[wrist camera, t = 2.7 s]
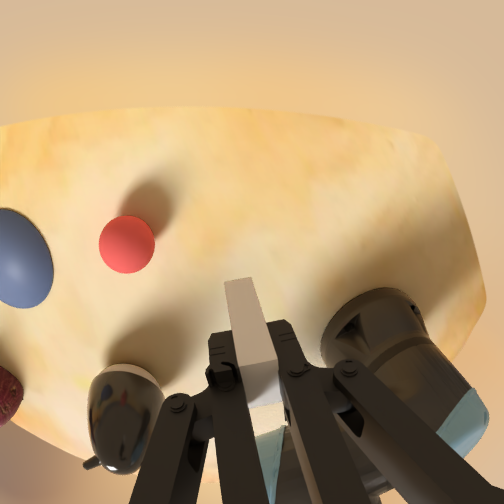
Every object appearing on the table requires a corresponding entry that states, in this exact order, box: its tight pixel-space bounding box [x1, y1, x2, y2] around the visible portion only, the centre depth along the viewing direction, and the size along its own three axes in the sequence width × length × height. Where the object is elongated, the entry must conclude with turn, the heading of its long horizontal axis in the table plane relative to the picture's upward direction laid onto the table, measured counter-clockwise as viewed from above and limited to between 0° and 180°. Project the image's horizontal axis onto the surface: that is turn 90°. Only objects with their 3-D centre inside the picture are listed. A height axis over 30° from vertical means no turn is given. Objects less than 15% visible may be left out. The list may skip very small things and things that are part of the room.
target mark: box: [0, 209, 53, 308], centre depth 30 cm, size 13×13×1 cm
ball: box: [99, 216, 155, 273], centre depth 29 cm, size 6×6×6 cm
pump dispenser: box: [83, 364, 165, 475], centre depth 32 cm, size 10×10×15 cm
